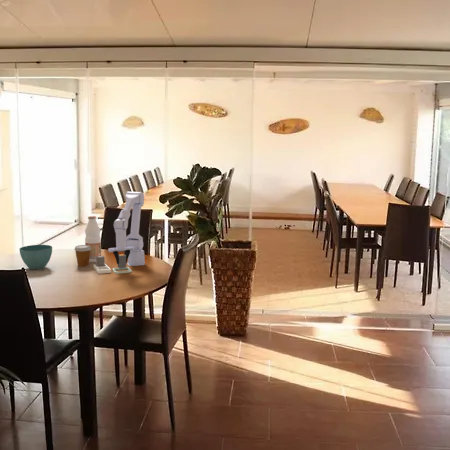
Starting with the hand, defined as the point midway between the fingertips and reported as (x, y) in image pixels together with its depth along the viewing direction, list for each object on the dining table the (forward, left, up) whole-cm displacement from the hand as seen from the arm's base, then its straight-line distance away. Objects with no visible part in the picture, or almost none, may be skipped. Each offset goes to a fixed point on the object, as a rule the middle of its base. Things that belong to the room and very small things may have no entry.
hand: (121, 263), depth 322 cm
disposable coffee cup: (+18, -23, -5) cm, 30 cm away
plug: (0, 0, -2) cm, 2 cm away
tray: (0, 0, -5) cm, 5 cm away
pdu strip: (+10, -7, -5) cm, 13 cm away
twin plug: (+10, -11, -4) cm, 15 cm away
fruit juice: (+10, -34, -5) cm, 36 cm away
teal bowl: (+44, -28, -5) cm, 52 cm away
